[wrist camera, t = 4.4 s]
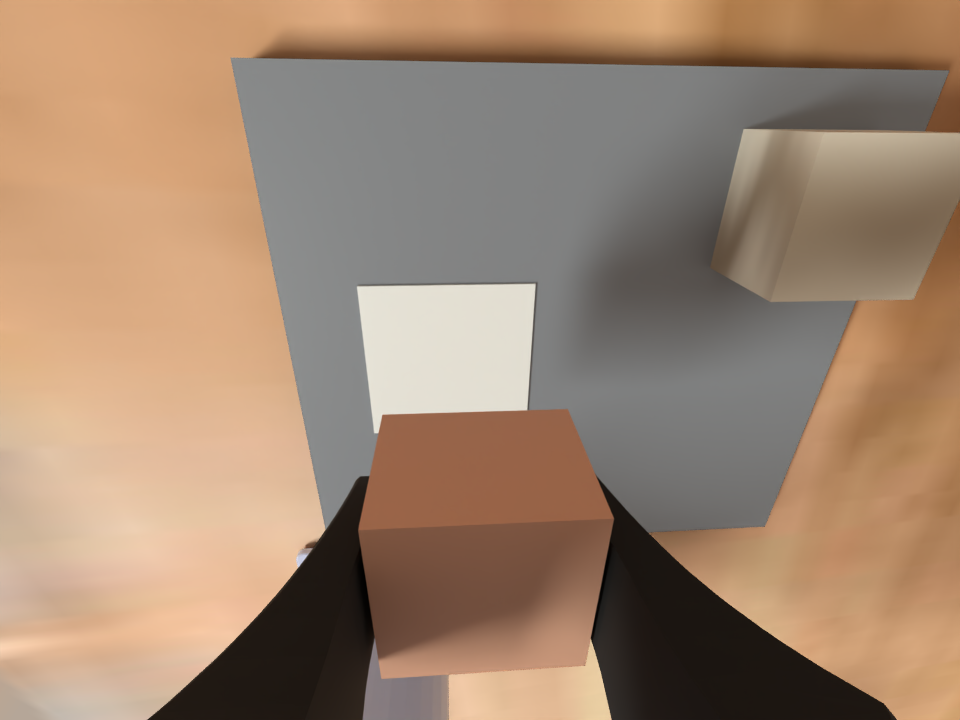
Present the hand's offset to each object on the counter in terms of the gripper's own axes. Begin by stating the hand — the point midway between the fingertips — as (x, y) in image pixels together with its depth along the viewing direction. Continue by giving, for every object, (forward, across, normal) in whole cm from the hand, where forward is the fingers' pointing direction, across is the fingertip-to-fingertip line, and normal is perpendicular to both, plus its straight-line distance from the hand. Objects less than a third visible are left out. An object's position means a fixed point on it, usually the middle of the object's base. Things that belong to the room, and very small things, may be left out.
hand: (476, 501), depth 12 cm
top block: (+7, -11, -6) cm, 15 cm away
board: (+8, -4, 0) cm, 9 cm away
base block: (+1, 0, 0) cm, 1 cm away
